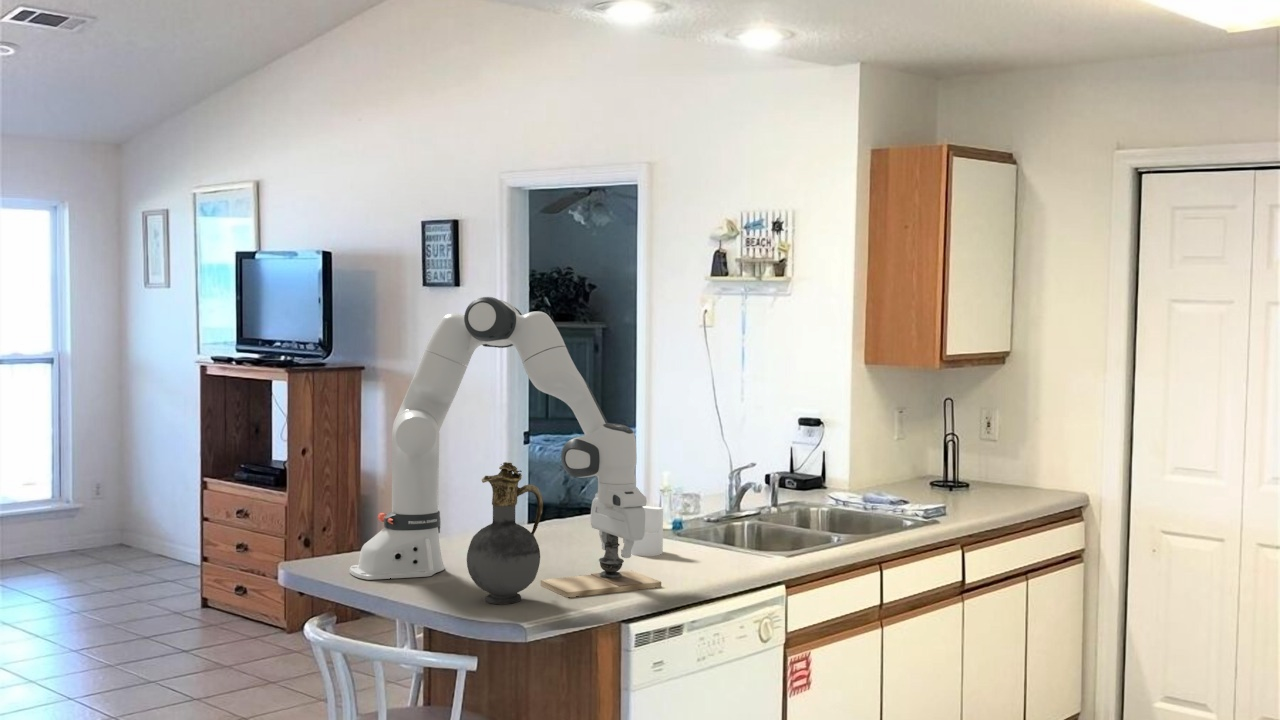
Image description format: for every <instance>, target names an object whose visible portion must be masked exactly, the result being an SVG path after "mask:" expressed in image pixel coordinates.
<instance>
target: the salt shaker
mask: <svg viewBox="0 0 1280 720" xmlns="http://www.w3.org/2000/svg"><path fill="white" fill-rule="evenodd" d="M604 545H605V546H606V549H605V550H604V551H605V552H604V556H603V557H600V558H598V562H599V566H600V568H601V569H602V570H603V571H601V572H599V573H600V574H599V575H600V576H601V577H604V578H620V577H621V576H622V574H620V573H619V572H620V570H621V569H622V568H623V567H622V566H623V563H624V559H623V558H621V557H620V556H619V547H620V543H619V537H617V536H615V535H612V534H609V533H607V535H606V543H605V544H604Z"/></svg>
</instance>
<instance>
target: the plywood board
mask: <svg viewBox="0 0 1280 720" xmlns="http://www.w3.org/2000/svg"><path fill="white" fill-rule="evenodd" d="M618 572H619V573H620V574H622V576H621V577H620V578H604V577H601V576H600V575H599V574H600V573H601V572H599V573H598V572H597V573H590V574H585V575H575V576H567V577H558V578H547V579H540V586H542V587H544V588H546V589H548V590H550V591H552V592H554V593H556V594H559V595H560V596H563V597H565V598H566V599H567V598H568V597H570V598H577V597H576V596H579V597H585V596H586V597H587V596H594V595H595V596H596V595H603V594H613V593H621V592H628V591H629V592H630V591H639V590H638V589H640V590H647V589H646V588H648V589H656V588H655V587H657V588H662V581H660V580H658V579H655V578H653V577H649V576H648V575H645V574H642V573H639V572H637V571H634V570H624V571H618Z"/></svg>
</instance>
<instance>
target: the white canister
mask: <svg viewBox="0 0 1280 720" xmlns="http://www.w3.org/2000/svg"><path fill="white" fill-rule="evenodd" d="M642 507H643V508H644V510H645V534H644V537H643V539H642V540H637V541H634V544H633V547H632V549H631V554H632V555H633V556H639V557H654V556H655V557H656V556H659V555H660V554H661V555H663V545H664V544H663V543H664V508H663V507H660V506H659V507H658V506H650V505H649V506H648V505H646V506H642ZM632 555H631V556H632Z"/></svg>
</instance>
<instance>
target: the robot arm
mask: <svg viewBox="0 0 1280 720" xmlns="http://www.w3.org/2000/svg"><path fill="white" fill-rule="evenodd" d="M480 346H483V347H489V348H498V349H499V348H500V349H503V348H504V349H505V348H511V347H515V348H516V350H517V354H519V357H520V360H521V362H522V364H523V368H524V370H525V372H526V375H527V377H528V379H529V380H530V382H531V384H532V385H533V386H534V387H535V388H536V389H537V390H538V391H540V392H541V393H544V394H547V395H550V396H552V397H554V398H556V399H559V400H561V402H564V403H565V404H566V405H567V406H568V407H569V408H570V409H571V411H572V412H573V414H574V416H575V418H576V419H577V422H578V423H579V426H580V428H581V430H582V432H583V434H584V435H581V436H577V437H575V438H572V439H570V440H568V441H566V442H565V444H564V445H563V447H562V449H561V453H560V460H561V465H562V468H563V469H564V470H565V472H566V473H567V474H568V475H570V476H571V477H573V478H578V479H579V478H580V479H582V478H591V477H597V491H596V492H595V494H594V498H593V499H592V501H591V507H590V525H591V528H592V529H594V530H597V531H599V532H598V534H599V538H600V542H601V549H602V551H605V549H606V546H605V545H604V544H605V543H606V535H607V533H609V534H612V535H615V536H617V537H618V538H620V539H622V543H623V547H622V549H620V552H621V555H620V556H621V557H622V558H624V559H629V558H631V557H632V555H631V549H632V547H633V544H634V541H637V540H642V539H643V537H644V534H645V510H644V508H643V507H642V506H647V497H646V496H645V495H644V494H643V493H642V492H641V490H639V488H638V487H637V478H636V474H635V471H636V465H637V458H638V457H637V440H636V435H635V432H634V431H633V429H632V428H631V427H629V426H627V425H624V424H620V423H614V422H613V423H612V422H608V420H607V419H606V417H605V414H604V413H603V411H602V408H601V407H600V405H599V403H598V401H597V399H596V397H595V395H594V393H593V391H592V389H591V388H590V386H589V384H588V382H586V380H585V379H584V377H583V376H582V375H581V373H580V372H579V370H578V369H577V366H576V365H575V363H574V361H573V359H572V358H571V357H572V356H571V355H570V353H569V350H568V348H567V345H566V344H565V341H564V339H563V336H562V335H561V333H560V331H559V329H558V328H557V326H556V324H555V323H554V321H553V320H552V318H551V317H550V316H549V314H547V313H546V312H543V311H539V310H538V311H530V312H528V313H525V314H522V313H521V311H520V310H519V309H517V308H516V307H515V306H513V305H511V304H510V303H509V302H508V301H504V300H500V299H498V298H495V297H492V296H483V297H482V296H481V297H478V298H476V299H474V300H472V301H471V302H470V303H469V304H468V306H467V307H466V310H465V312H464V314H462V313H456V312H454V313H447V314H446V315H444V316H443V317H442V318H441V319H440V321H438V324H437V325H436V327H435V328H434V330H433V332H432V333H431V336H430V338H429V339H428V342H427V343H426V346H425V349H424V351H423V352H422V356H421V358H420V360H419V363H418V365H417V367H416V369H415V372H414V375H413V377H412V379H411V381H410V384H409V386H408V389H407V391H406V393H405V396H404V398H403V400H402V403H401V404H400V406H399V409H398V412H397V414H396V417H395V418H394V421H393V423H392V424H393V425H392V431H391V452H392V453H391V473H392V475H391V477H392V478H391V511H390V512H389V513H387V514H386V513H384V512H380V513H379V514H378V515H377V520H378V521H380V522H381V523H383V528H382V529H381V530H380V531H379V532H377V533H376V534H375V535H374V536H373V537H372V538H370V539H369V540H368V541H367V542H365V543H363V545H362V547H361V548H360V553H359V559H358V564H353V565H351V566H350V567H349V574H350V575H352V576H353V577H356V578H358V579H362V580H367V581H368V580H369V581H370V580H371V581H372V580H387V579H388V580H389V579H390V578H391V579H405V578H406V579H408V578H423V577H426V578H427V577H432V576H433V575H435V574H436V573H439V572H442V571H444V570H445V569H446V567H445V564H444V560H443V555H442V550H441V542H440V541H441V540H440V534H441V524H442V523H441V511H440V510H439V471H440V470H439V465H440V430H441V428H442V426H443V423H444V421H445V419H446V417H447V414H448V412H449V410H450V407H451V406H452V403H453V401H454V400H455V398H456V396H457V392H458V391H459V389H460V386H461V384H462V381H463V379H464V375H466V372H467V371H466V370H467V369H468V366H469V364H470V361H471V358H472V357H473V355H474V352H475V351H476V350H477V348H478V347H480ZM391 579H390V580H391Z"/></svg>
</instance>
